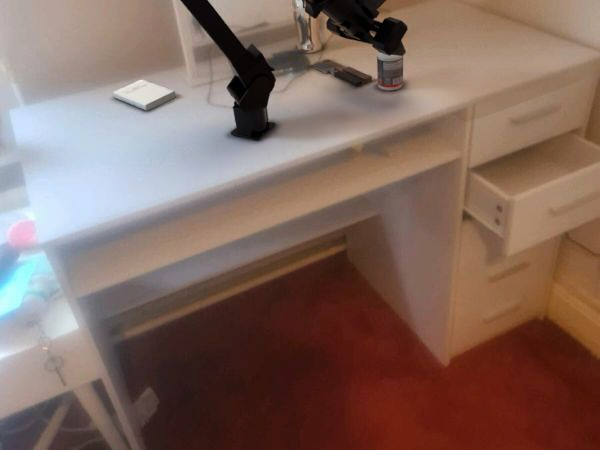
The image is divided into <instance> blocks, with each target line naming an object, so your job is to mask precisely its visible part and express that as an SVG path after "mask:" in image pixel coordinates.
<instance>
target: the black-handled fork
mask: <svg viewBox="0 0 600 450" xmlns="http://www.w3.org/2000/svg"><path fill="white" fill-rule="evenodd" d="M311 68H313V69H315V70H317V71H319V72H321V73H323V74H325V75H327V74H331V75H333V76H334V77H335V78H337V79H339V80H342V81H344V82H345V83H348V84H350V85H351V86H354V87H356V88H357V87H360V86H363V82H362V81H361V80H359V79H357V78H355V77H353V76H351V75H348V74H346V73H344V72H342V71H340V70H339V71H337V70H335V68H333V67H330V66H328V65H326V64H323V63H322V61H319V62H317V63H314V64H311Z"/></svg>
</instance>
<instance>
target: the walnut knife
mask: <svg viewBox="0 0 600 450" xmlns="http://www.w3.org/2000/svg"><path fill="white" fill-rule="evenodd" d="M321 63H323V64H326V65H328V66H330V67H333V68H335V70H334V71H336V72H337V71H339V70H340V71H342V72H344V73H346V74H348V75H351V76H353V77H355V78H357V79H359V80H361V81H362V83H364V84H368V83H370V82H372V81H373V78H372V76H371V75H369V74H366V73H365V72H363V71H360V70H358V69H356V68H354V67H351V66H349V65H348V66H344V65H342V64H340V63H337V62H336V61H334V60H332V59H323V60H322V61H321Z"/></svg>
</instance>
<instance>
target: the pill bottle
mask: <svg viewBox="0 0 600 450" xmlns="http://www.w3.org/2000/svg"><path fill="white" fill-rule="evenodd" d="M376 66H377V67H376V75H377V77H376V79H377V87H378V88H379V89H381V90H383V91H387V92H389V91H395V90H399V89H401V88H402V87H403V86H404V55H403V56H398V55H390V56H389V55H386V54H383V53H381V52H378V51H377V54H376Z"/></svg>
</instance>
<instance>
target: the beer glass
mask: <svg viewBox="0 0 600 450" xmlns="http://www.w3.org/2000/svg"><path fill="white" fill-rule="evenodd" d="M305 5H306V3H305V0H290V7H291V13H292V18H293V22H294V26H295V28H296V32H297V33H296V34H297V51H298V50H301V51H302V52H303V53H302V52H301V53H302V54H312V53H317V52H319V51H321V50H322V48H323V43H322V39H321V34H320V25H321V16H322V15H321V14H322V11H321V12H320V14H319V15H318V17H317V18H316V19H314V18H313V17H311V16H310V15H309V14H307V13H306V12H305Z"/></svg>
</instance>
